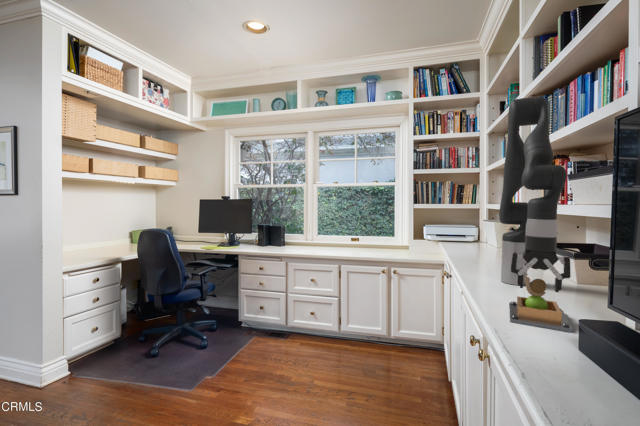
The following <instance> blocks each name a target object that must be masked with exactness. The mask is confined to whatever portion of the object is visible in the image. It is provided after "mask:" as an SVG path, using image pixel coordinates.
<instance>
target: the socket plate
mask: <svg viewBox="0 0 640 426" xmlns="http://www.w3.org/2000/svg"><path fill="white" fill-rule="evenodd" d="M516 297H517V298H516V301H509V304H508V308H509V309H508V310H510V311H509V323H513V324H519V323H520V325H525V324H526V325H525V326H533V327H537V328H542V329H543V328H544V329H549V330H550V329H551V330H556V331H560V332H565V333H566V332H567V333H573V327H572V325H571V323H570V322H569V320H568V318H567V315H566V314H565V312H564V310H563V309H562V308H560V306H559V304H558V303H557V301H554V300H546V299H545V300H546V302H547V305H548V308H547V310H544V309H538V308H531V307H526V304H525V302H526V299H527V298H528V297H526V296H525V297H524V296H516Z"/></svg>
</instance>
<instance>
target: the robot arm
mask: <svg viewBox="0 0 640 426" xmlns="http://www.w3.org/2000/svg"><path fill="white" fill-rule="evenodd" d="M507 115H508V116H507V138H506V139H507V140H506V141H507V143H506V150H505V159H504V165H503V167H504V168H503V181H502V182H503V185H502V193H501V199H500V206H499V212H498V219H499V222H500V223H501V224H503V225H516V226H518V227H517V228H516V229H514V230H512V231H508V232H504V233H503V234H502V237H501V240H502V241H501V243H502V244H501V264H500V265H501V267H500V281H501V282H502V283H504V284H508V285H514V286H516V285H517V286H519V288H520V289H523V288H524V286H526V284H525V280H524V278H525V277H526V275H524V273H526V274H528V270H529V269H530V268H531V269H532V270H542V271H547V270H550V271H551V273H552V274H553V275H554V292H555V293H559V292H560V291H561V290H562V289H563V287H562V286H563V280H564V279H571V278H572V277H571V258H570V257H569V256H568V255H563V256H560V255H559V256H558V255H557V241H558V240H557V239H558V235H559V234H558V224H557V223H558V221H557V220H558V219H557V216H558V215H557V214H558V205H559V201H560V197H561V194H562V192H563V189H564V186H565V184H566V182H567V177H568V173H567V171H566V168H565V167H563V165H560V164H553V161H554V152H553V149H552V145H551V144H552V143H551V142H550V140H551V139H550V118H549V116H550V115H549V106H548V101H547V99H546V98H545V97H544V96H531V97H524V98H516V99H513V100H511V101H510V103H509V106H508V114H507ZM535 125H536V126H535ZM524 126H525V127H526V126H527V127H528V126H535V127H534V128H533V130H532V131H531V132H530V133H529V134H528V136H527V137H526V138H525V140H524V141H523V139H522V137H521V135H520V132H519V128H520V127H524ZM523 187H524V188H525V189H526V190H531V191H534V190H536V191H538V190H539V191H540V190H542V191H548V192H547V194H546V195H544V196H541V197H535V198H531V199H529V200H528V202H525V201H524V202H522V201H521V202H517V201H512V200H513V198H514V197H515V195H516V194H517V193H518V192H519V190H521V188H523ZM558 261H560V264H561V265H563V272H562V273H560V272H559V271H558V270H557V268H556V267H555V264H556V263H557V262H558Z"/></svg>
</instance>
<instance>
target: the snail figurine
mask: <svg viewBox="0 0 640 426" xmlns="http://www.w3.org/2000/svg"><path fill="white" fill-rule="evenodd" d="M524 275H526V277H525V278H524V280H525V284H526V285H525V288H526V291H527V294H528V293H529V294H530V296H528V297H526V298H527V299H526V302H525V304H526V307H531V308H538V309H544V310H547V308H548V305H547V302H546V299H545V298H544V297H543V296H545V294H546V293H547V292H546V290H547V283H546V281H545V280H543V279H542V278H535V279H532V281H531V278H530V277H528V275H529V274H528V273H527V274H526V273H524Z"/></svg>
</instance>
